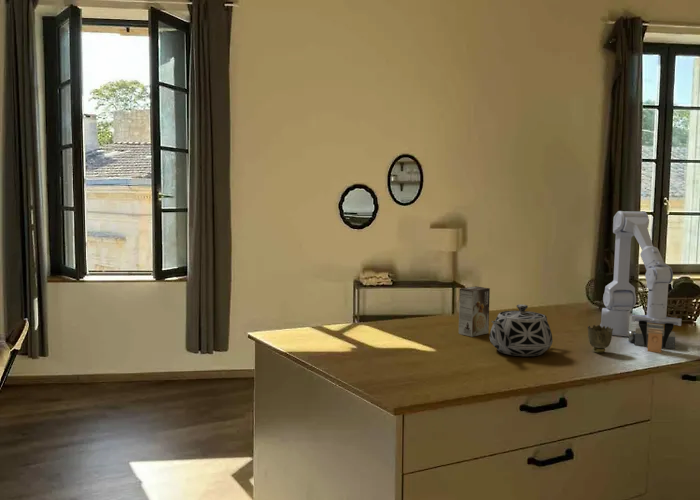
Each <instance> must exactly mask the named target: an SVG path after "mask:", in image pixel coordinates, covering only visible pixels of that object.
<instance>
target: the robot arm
mask: <svg viewBox="0 0 700 500" xmlns="http://www.w3.org/2000/svg"><path fill="white" fill-rule="evenodd" d="M612 221H613V223H612V233H613V234H615V239H614V240H615V243H614V261H613V262H614V266H613V280H612V281H611V282H610V283H608V284H607V285H605V287H604V293H603V297H602V301H603V304H604V306H605V307H602V309H601V318H600V319H601V320H600V321H601V322H600V324H599V325H600V326H601V327H603V326H605V329H606V327H609V328H610V327H611V329H612V328H613V332H612V336H617V337H618V336H619V337H628V338H629V331H630V330H629V328H630V317H631V322H634V323H635V322H636V323H637V322H638V326H639V327H638V328H640V329H641V332H642V335H643V339H644V345H646V344H647V335H646V333H647V324H659V325H664V327H663V329H664V339H663V347H665V345H666V341H667V339H668V336H669V334H670V333H671V331H672V332H673V330H674V326H679V327H681V326H682V318H676V317H668V316H667V309H668V296H669V285H670V284H671V283H672V281H673V279H674V273H673V272H674V271H673V270H672V269H673V268H672V267H671V266H670V265H668V264H667V263H665V261H664V259H663V257H662V254H661V253H660V251H659V248H658V247H656V246H654V245H653V242H652V238H651V236H650V235H651V234H650V232H649V229H648V228H649V225H650V219H649V215H648V213H647V212H646V211H644V210H643V211H632V210H631V211H626V210H625V211H623V210H618V211H617V212H616V213H615V214H614V216H613V220H612ZM633 237H634V238H635V239H636V241H637V243H638V245H639V246H640V249H641V252H640V253H639V254H640V257H641V261H642V263H643V265H644V267H645V270H646V271H645V274H644V275H645V281H646V288H647V289H648V290H647V291H648V292H647V303H646V304H647V307H646V314H644V315H643V314H632V315H631V311H633V308H634V307H635V306H636V303H637V296H636V287H635V286H634V285H632V284H631V283H630V268H631V265H630V264H631V249H632V238H633ZM630 315H631V316H630Z"/></svg>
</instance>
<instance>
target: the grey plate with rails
mask: <svg viewBox="0 0 700 500" xmlns="http://www.w3.org/2000/svg"><path fill="white" fill-rule="evenodd" d="M664 327H665V324H659V323H647V333H646V335H647V344H646V345H644V339H643V335H642V332H641V329H640V327H637V328H635V330H629V337H628V342H633V343H634V346H638V345H639V346H640V347H648V333H649V330H650V331H660V332H662V347H661V349H670V350H675V348H676V347H675V346H676V345H675V344H676V332H675V331H673V330H672V331H671V333H670V334H669V336H668V339H667V341H666V345H665V347H663V339H664ZM639 346H638V347H639Z"/></svg>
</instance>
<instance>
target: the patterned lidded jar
mask: <svg viewBox="0 0 700 500" xmlns="http://www.w3.org/2000/svg"><path fill="white" fill-rule="evenodd" d="M516 307H517V309H518V310H504V311H501V312H499V313H498V314H497V315H496V316H497V317H496V318H495V320H492V321H491V323H492V326H491V328H490V332H489V340H490V343H491V345H492V346H493V347H494V348H495V349H496V350H497V351H498V352H499V353H502V354H505V355H509V356H515V357H536V356H541V355H543V354H544V353H545V352H546V351H548V350H549V349H550V348H551V346H552V345H553V334H552V331H551V328H550V325H549V323H548V318H547V315H546V314H542V313H539V312H534V311H530V310H529V311H527V309H528V307H529V305H527V304H521V303H520V304H517V305H516Z"/></svg>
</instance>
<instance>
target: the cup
mask: <svg viewBox="0 0 700 500" xmlns="http://www.w3.org/2000/svg"><path fill="white" fill-rule="evenodd" d="M612 332H613V328H612V329H611V327H610V328H609V327H606V329H605V326H603V327H601V326H600V324H598V325H595V324H593V325H592V326H590V325H589V326H587V333H588V343H589V344H590V346H591V347H593V348H592V350H593V352H594V353H596V354H604V353H605V352H606V349H607V348H608V347H609V346H610V345H611V342H612V336H613V335H612Z"/></svg>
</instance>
